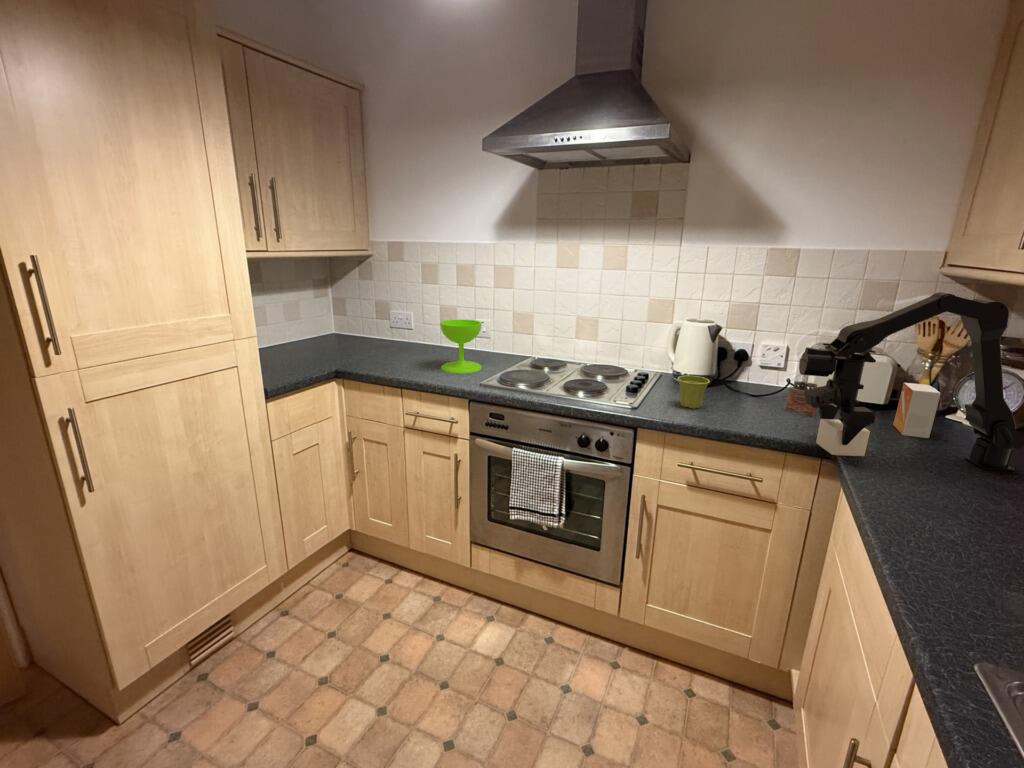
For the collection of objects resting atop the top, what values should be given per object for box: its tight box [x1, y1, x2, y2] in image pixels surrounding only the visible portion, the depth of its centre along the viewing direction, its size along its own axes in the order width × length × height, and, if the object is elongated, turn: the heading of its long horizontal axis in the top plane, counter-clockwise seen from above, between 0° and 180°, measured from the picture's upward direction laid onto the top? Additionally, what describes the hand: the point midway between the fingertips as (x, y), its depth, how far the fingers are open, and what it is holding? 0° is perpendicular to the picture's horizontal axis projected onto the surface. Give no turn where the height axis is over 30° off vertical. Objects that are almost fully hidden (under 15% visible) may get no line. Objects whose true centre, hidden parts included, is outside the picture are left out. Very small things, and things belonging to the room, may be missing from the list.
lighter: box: [784, 380, 818, 417], centre depth 153 cm, size 8×3×10 cm, turn 47°
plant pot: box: [677, 375, 711, 409], centre depth 158 cm, size 9×9×9 cm
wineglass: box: [439, 318, 483, 374], centre depth 197 cm, size 16×16×18 cm
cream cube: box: [815, 418, 871, 457], centre depth 127 cm, size 8×8×7 cm
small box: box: [892, 382, 941, 439], centre depth 139 cm, size 8×6×13 cm
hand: (834, 437), depth 127 cm, fingers open, 9 cm apart
